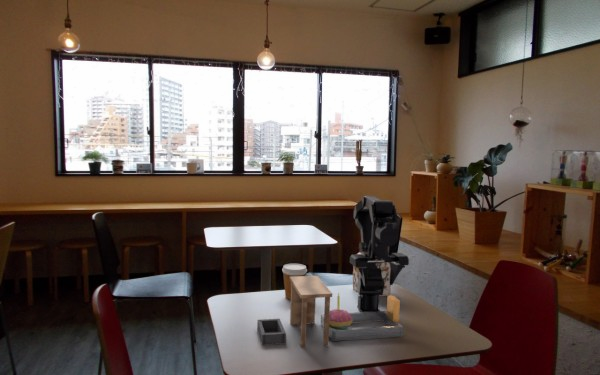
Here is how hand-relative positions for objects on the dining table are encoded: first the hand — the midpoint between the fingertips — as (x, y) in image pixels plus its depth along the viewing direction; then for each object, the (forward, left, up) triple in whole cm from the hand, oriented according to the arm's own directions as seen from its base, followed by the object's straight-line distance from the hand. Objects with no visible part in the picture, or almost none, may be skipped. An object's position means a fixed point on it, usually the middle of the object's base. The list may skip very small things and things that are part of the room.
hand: (378, 285), depth 141 cm
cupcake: (+15, +5, -13) cm, 20 cm away
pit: (+36, +5, -13) cm, 38 cm away
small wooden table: (+24, +5, -13) cm, 28 cm away
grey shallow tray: (+7, +5, -13) cm, 15 cm away
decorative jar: (-10, -29, -13) cm, 34 cm away
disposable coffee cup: (+22, -27, -13) cm, 38 cm away
